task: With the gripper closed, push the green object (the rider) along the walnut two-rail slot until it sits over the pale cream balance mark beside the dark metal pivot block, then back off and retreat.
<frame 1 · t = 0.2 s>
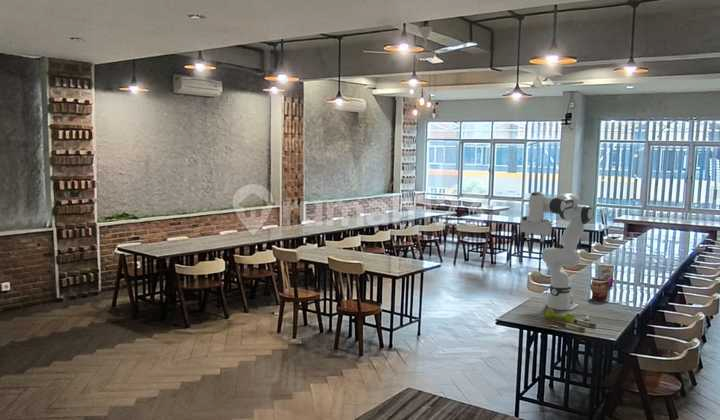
hand: (535, 240, 357), 47 cm above the table, fingers open, 8 cm apart
beam slot: (568, 324, 342), on the table
candy bar box: (604, 285, 447), on the table
decorative planter: (599, 299, 404), on the table
dumbbell: (559, 322, 347), on the table
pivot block: (586, 323, 344), on the table
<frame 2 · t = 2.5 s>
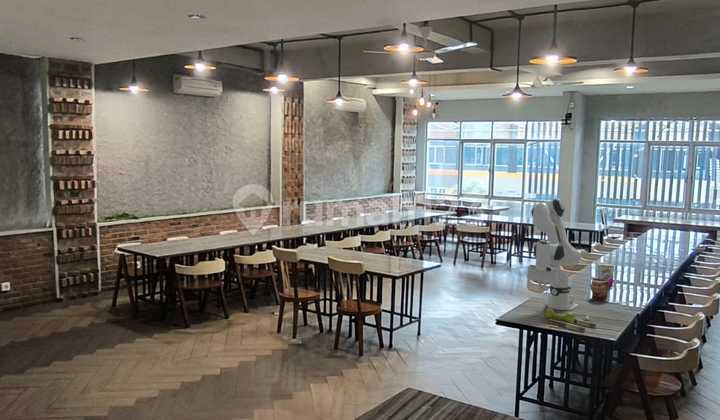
hand: (542, 288, 354), 18 cm above the table, fingers closed
nothing on the table moved.
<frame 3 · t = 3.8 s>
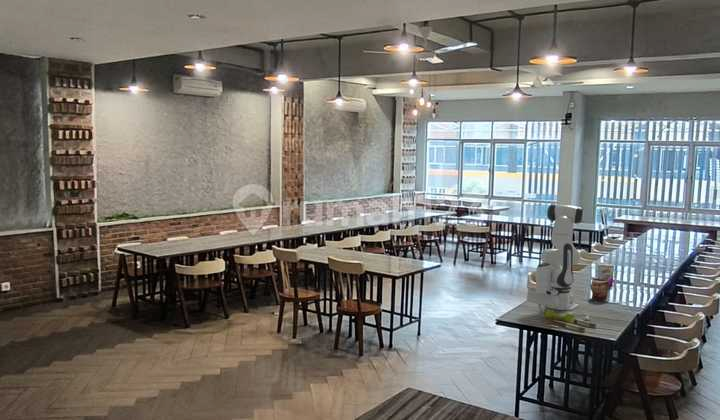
hand: (542, 311, 355), 4 cm above the table, fingers closed
nothing on the table moved.
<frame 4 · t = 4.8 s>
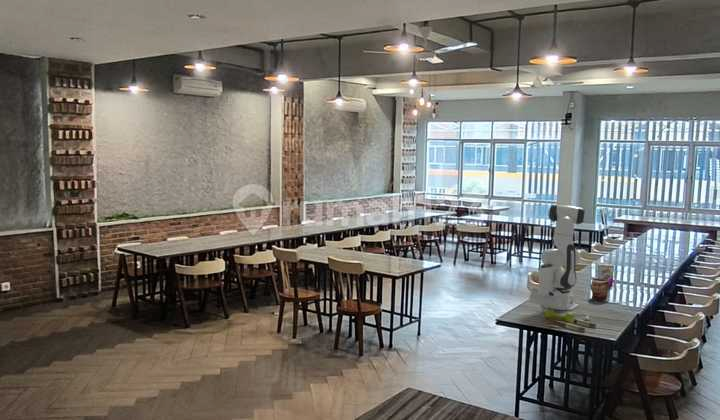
hand: (544, 312, 354), 4 cm above the table, fingers closed
dumbbell: (559, 322, 347), on the table, touching gripper
everything else where it was.
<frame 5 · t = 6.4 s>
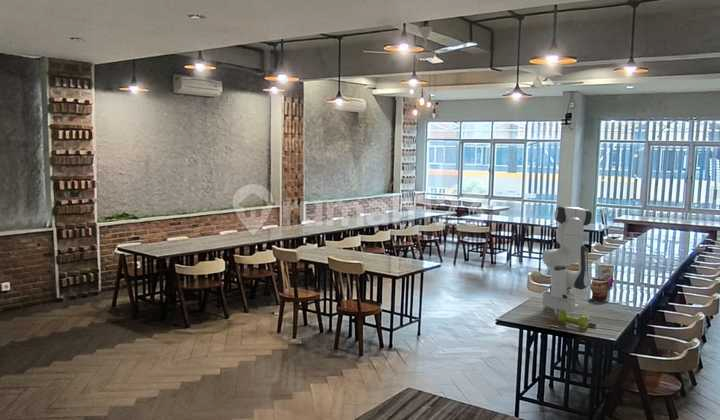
hand: (557, 316, 347), 4 cm above the table, fingers closed
dumbbell: (572, 326, 340), on the table, touching gripper
everything else where it was.
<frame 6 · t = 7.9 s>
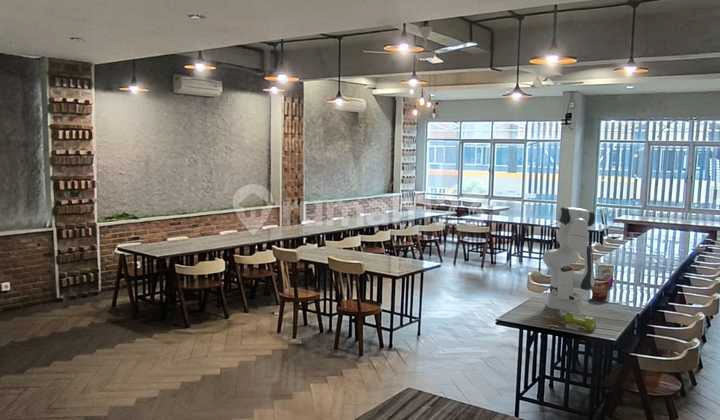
hand: (564, 317, 344), 4 cm above the table, fingers closed
dumbbell: (579, 328, 337), on the table, touching gripper
everything else where it was.
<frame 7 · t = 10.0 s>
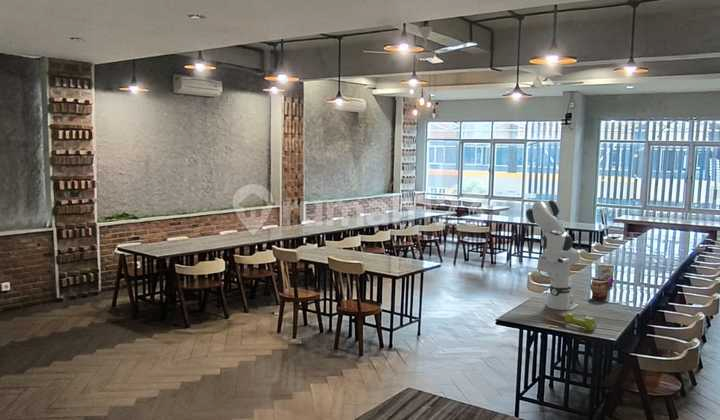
hand: (552, 280, 349), 24 cm above the table, fingers closed
dumbbell: (579, 328, 336), on the table
everything else where it was.
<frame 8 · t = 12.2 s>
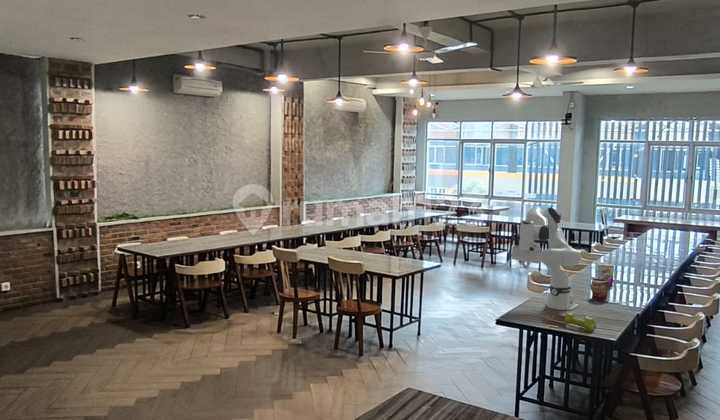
hand: (525, 268, 361), 29 cm above the table, fingers closed
nothing on the table moved.
at the end: dumbbell inside the target area (0.9 cm from its centre), on the table; dumbbell tilted 0°; dumbbell moved 13.0 cm from its start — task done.
